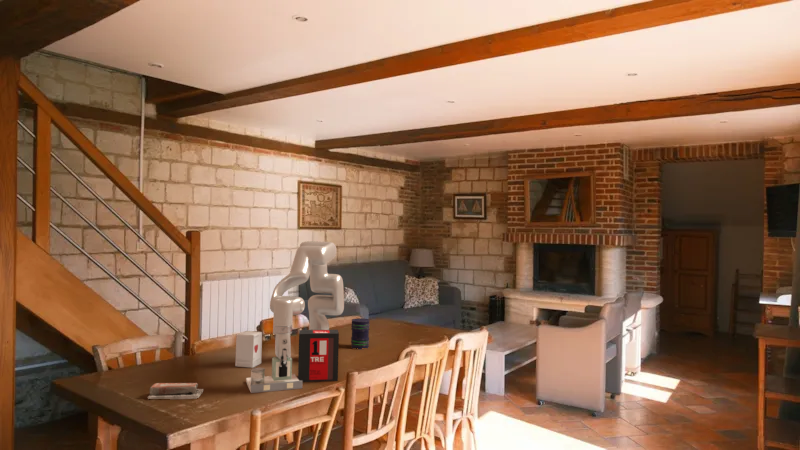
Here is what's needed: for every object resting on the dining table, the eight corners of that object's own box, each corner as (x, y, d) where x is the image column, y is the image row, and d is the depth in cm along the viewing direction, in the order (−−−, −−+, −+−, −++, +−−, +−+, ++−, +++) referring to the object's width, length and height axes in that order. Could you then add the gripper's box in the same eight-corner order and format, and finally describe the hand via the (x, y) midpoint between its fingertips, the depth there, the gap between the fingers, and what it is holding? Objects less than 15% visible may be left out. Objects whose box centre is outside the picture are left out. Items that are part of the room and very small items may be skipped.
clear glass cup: (263, 383, 214) (263, 367, 214) (265, 386, 209) (265, 370, 209) (249, 384, 212) (250, 368, 212) (251, 388, 207) (251, 371, 207)
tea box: (288, 375, 219) (289, 356, 219) (291, 379, 213) (292, 359, 213) (271, 377, 216) (272, 357, 216) (273, 380, 211) (274, 360, 211)
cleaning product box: (297, 382, 222) (299, 334, 222) (298, 376, 230) (299, 330, 231) (337, 381, 224) (338, 333, 225) (336, 375, 233) (337, 329, 233)
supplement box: (252, 368, 242) (253, 335, 242) (234, 366, 244) (235, 334, 244) (262, 363, 251) (262, 331, 251) (244, 362, 252) (245, 330, 253)
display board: (294, 377, 228) (294, 370, 228) (302, 388, 213) (302, 381, 213) (246, 381, 221) (246, 374, 221) (250, 393, 205) (251, 385, 205)
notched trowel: (147, 388, 194) (155, 380, 204) (146, 401, 194) (154, 393, 204) (198, 386, 197) (204, 379, 207) (198, 400, 197) (203, 392, 207)
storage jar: (372, 347, 291) (373, 319, 291) (361, 350, 283) (362, 322, 283) (358, 344, 296) (358, 317, 297) (347, 347, 288) (347, 320, 288)
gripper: (296, 333, 208) (295, 379, 208) (288, 325, 224) (287, 368, 224) (276, 334, 205) (275, 381, 205) (270, 326, 221) (268, 370, 221)
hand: (281, 374), depth 215 cm, fingers closed on tea box, 5 cm apart
